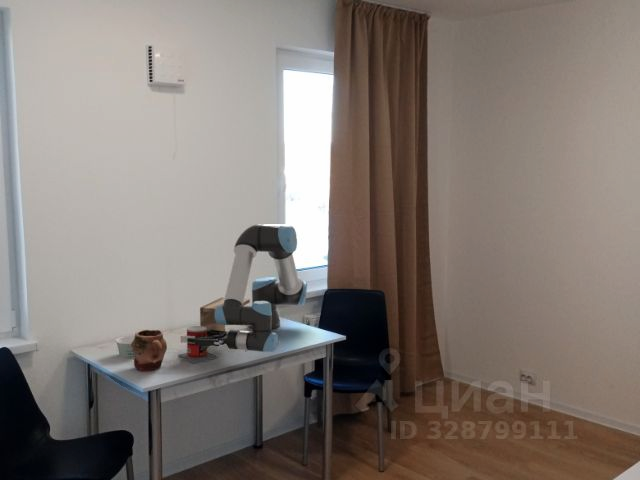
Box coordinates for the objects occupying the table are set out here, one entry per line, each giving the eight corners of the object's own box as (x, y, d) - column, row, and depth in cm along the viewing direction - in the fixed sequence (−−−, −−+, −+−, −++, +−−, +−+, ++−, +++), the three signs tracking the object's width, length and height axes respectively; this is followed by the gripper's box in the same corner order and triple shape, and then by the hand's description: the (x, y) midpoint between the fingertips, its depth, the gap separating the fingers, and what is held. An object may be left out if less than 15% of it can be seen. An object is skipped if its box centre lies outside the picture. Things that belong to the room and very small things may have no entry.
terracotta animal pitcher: (179, 371, 240) (178, 334, 238) (149, 378, 231) (149, 340, 229) (150, 359, 254) (150, 325, 252) (122, 366, 245) (121, 330, 243)
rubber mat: (201, 351, 265) (201, 349, 264) (216, 357, 256) (216, 355, 256) (178, 357, 257) (178, 354, 257) (192, 363, 249) (192, 360, 249)
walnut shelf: (200, 350, 267) (200, 307, 265) (221, 336, 289) (221, 297, 287) (230, 352, 264) (230, 309, 262) (250, 338, 285) (249, 299, 283)
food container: (122, 361, 252) (121, 344, 251) (112, 354, 262) (111, 338, 261) (151, 355, 259) (150, 340, 258) (140, 349, 269) (140, 333, 268)
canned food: (203, 358, 252) (202, 330, 251) (184, 357, 254) (183, 329, 253) (210, 352, 260) (209, 326, 259) (191, 351, 261) (191, 325, 260)
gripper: (228, 356, 242) (174, 352, 247) (248, 342, 262) (197, 338, 268) (228, 337, 241) (173, 333, 247) (248, 324, 261) (197, 320, 267)
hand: (186, 336), depth 257 cm, fingers open, 8 cm apart
